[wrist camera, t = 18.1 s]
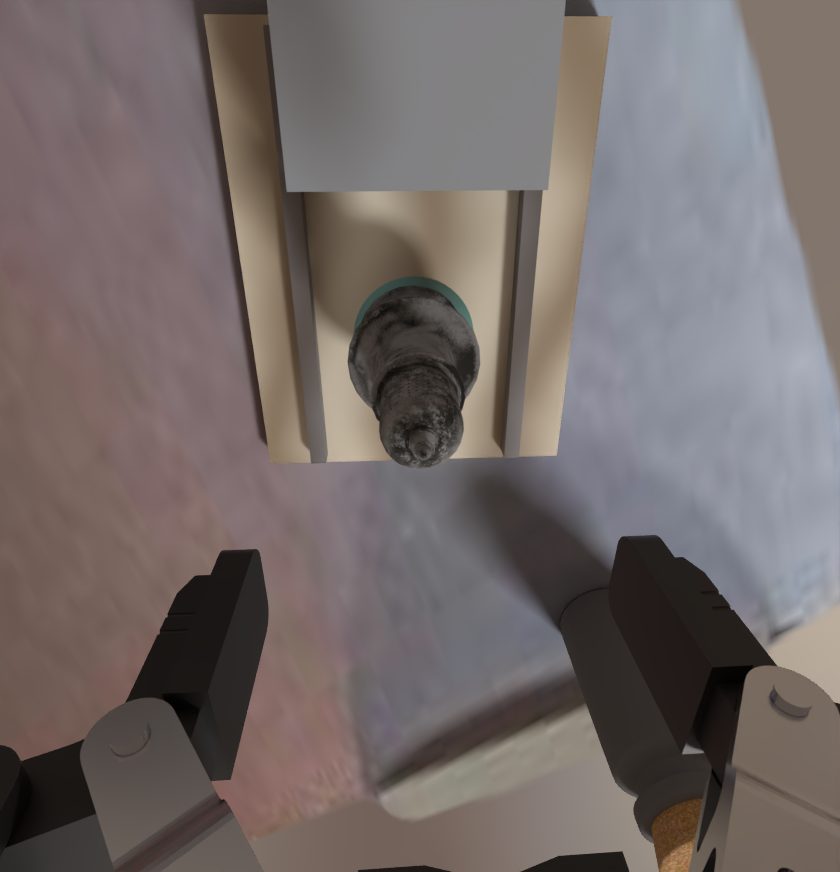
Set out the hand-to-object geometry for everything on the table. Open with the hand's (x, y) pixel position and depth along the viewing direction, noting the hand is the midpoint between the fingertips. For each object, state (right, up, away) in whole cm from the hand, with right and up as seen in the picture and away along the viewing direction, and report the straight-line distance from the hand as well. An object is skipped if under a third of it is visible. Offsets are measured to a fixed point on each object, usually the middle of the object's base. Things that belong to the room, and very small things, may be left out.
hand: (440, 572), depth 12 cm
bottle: (+12, -10, +27) cm, 31 cm away
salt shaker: (-1, +8, +15) cm, 17 cm away
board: (-1, +11, +15) cm, 19 cm away
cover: (-1, +18, +10) cm, 20 cm away
